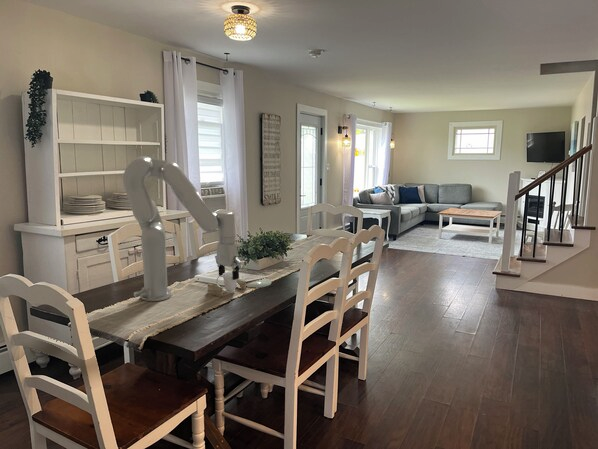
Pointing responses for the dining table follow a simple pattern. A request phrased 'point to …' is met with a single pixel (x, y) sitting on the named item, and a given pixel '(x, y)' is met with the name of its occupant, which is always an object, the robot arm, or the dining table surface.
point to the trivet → (260, 283)
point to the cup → (228, 282)
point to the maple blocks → (219, 290)
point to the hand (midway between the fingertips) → (228, 277)
